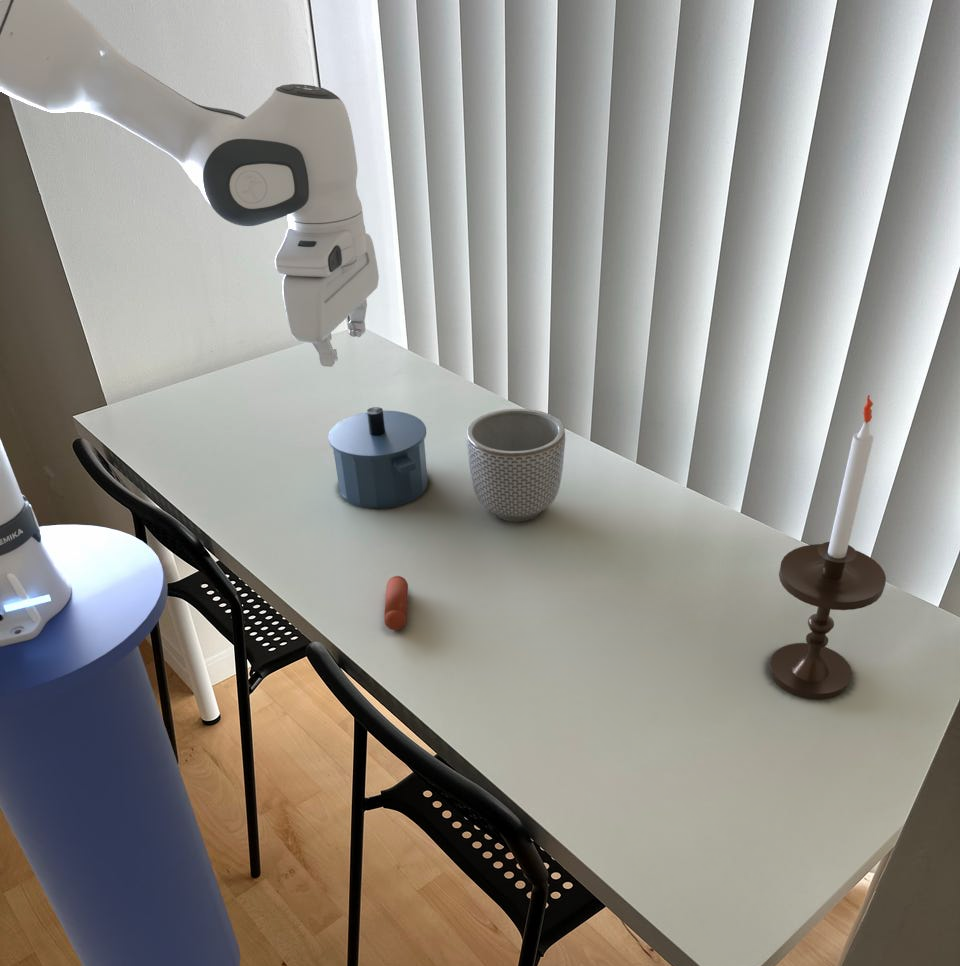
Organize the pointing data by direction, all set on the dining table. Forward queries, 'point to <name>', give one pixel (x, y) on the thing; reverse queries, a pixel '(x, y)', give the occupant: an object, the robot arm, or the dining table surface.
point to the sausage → (396, 603)
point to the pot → (382, 478)
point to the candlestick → (829, 588)
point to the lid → (377, 434)
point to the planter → (516, 461)
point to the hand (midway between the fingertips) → (344, 349)
